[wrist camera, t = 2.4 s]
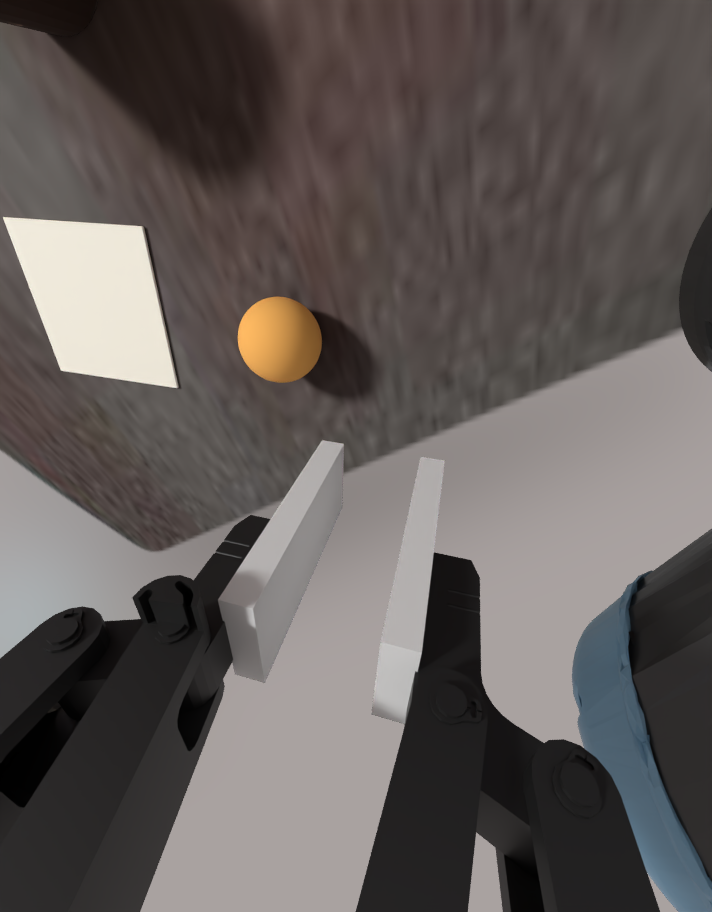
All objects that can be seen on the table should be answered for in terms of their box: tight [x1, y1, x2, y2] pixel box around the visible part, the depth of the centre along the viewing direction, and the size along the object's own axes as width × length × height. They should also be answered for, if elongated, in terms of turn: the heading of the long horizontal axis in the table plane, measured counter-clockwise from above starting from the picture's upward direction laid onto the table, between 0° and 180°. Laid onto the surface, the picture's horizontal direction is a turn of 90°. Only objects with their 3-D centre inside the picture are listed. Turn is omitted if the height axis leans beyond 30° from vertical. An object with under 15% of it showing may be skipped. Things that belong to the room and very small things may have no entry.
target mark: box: [3, 217, 179, 388], centre depth 32 cm, size 12×12×1 cm
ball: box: [238, 297, 322, 383], centre depth 27 cm, size 6×6×6 cm
